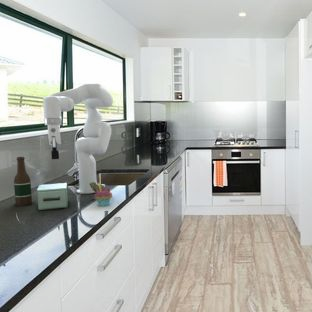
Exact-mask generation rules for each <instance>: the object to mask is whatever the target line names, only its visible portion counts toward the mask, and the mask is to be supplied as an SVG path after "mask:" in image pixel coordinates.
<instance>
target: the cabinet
mask: <svg viewBox="0 0 312 312" xmlns="http://www.w3.org/2000/svg"><path fill="white" fill-rule="evenodd" d="M56 190H65V200H66V206H65V207H54V208H44V209H39V197H38V192H43V191H56ZM36 197H37V211H43V210H55V209H64V208H68V205H69V204H68V203H69V197H68V183H67V182H61V183H59V182H58V183H46V184H45V183H44V184H39V185H38V188H37V189H36Z"/></svg>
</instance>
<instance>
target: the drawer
mask: <svg viewBox="0 0 312 312" xmlns="http://www.w3.org/2000/svg"><path fill="white" fill-rule="evenodd" d="M38 197H39V209H44V208H54V207H65V206H66V200H65V190H56V191H43V192H38Z"/></svg>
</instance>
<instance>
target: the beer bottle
mask: <svg viewBox="0 0 312 312" xmlns="http://www.w3.org/2000/svg"><path fill="white" fill-rule="evenodd" d="M16 160H17V162H16V163H17V164H16V165H17V167H16V168H17V169H16V170H17V172H16V174H15V176H14V179H13V188H14V201H15V206H19V207H23V206H29V205H32V204H33V195H32V182H31V177H30V175H29V174H28V172H27V169H26V162H25V156H17V157H16Z"/></svg>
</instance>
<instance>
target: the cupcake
mask: <svg viewBox="0 0 312 312" xmlns="http://www.w3.org/2000/svg"><path fill="white" fill-rule="evenodd" d="M97 184H98V185H99V189H100V191H99V192H97V193H94V195H93V199H94V200H96V202H97V205H98V206H99V207H105V206H108V205H109V204H110V200H111V199H112V198H113V192H111V191H110V192H109V191H101V187H100V184H101V183H100V182H99V181H97Z"/></svg>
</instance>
